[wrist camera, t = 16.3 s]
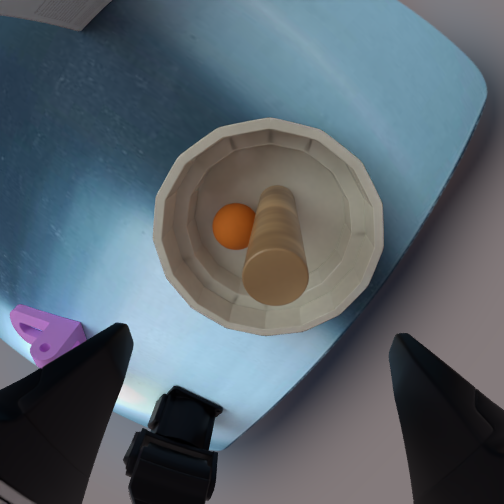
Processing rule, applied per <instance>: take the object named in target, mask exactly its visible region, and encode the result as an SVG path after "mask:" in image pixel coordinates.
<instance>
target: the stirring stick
mask: <svg viewBox="0 0 504 504" xmlns="http://www.w3.org/2000/svg"><path fill="white" fill-rule="evenodd" d="M308 282H309V272H308V266H307V261H306V255H305V250H304V244H303V239H302V234H301V228H300V223H299V218H298V213H297V208H296V203H295V199H294V196H293V194H292V192H291V191H290V190H289V189H287V188H286V187H284V186H280V185H274V186H270V187H268V188H266V189H265V190H264V191H263V192H262V193H261V195H260V198H259V202H258V206H257V210H256V215H255V219H254V223H253V227H252V232H251V236H250V240H249V245H248V249H247V253H246V257H245V262H244V266H243V270H242V283H243V286H244V288H245V290H246V291H247V293H248V294H249V295H250V296H251V297H252V298H253V299H254V300H256V301H258V302H260V303H262V304H265V305H269V306H282V305H286V304H289V303H292V302H293V301H295V300H297V299H298V298H299V297H300V296H301V295H302V294H303V293H304V291H305V290H306V288H307V285H308Z"/></svg>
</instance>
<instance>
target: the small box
mask: <svg viewBox="0 0 504 504" xmlns="http://www.w3.org/2000/svg"><path fill="white" fill-rule="evenodd" d="M111 1H112V0H0V15H3V16H10V17H17V18H23V19H28V20H34V21H38V22H43V23H48V24H52V25H56V26H60V27H64V28H68V29H72V30H75V31H81V30H83V28H84V27H85V26H86V25H87V24H88V23H89V22H90V21H91V20H92V19H93V18H94V17H95V16H96V15H97V14H98V13H99V12H100V11H101V10H102V9H103V8H104V7H105V6H106V5H108V4H109V3H110V2H111Z"/></svg>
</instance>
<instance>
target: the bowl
mask: <svg viewBox="0 0 504 504" xmlns="http://www.w3.org/2000/svg"><path fill="white" fill-rule="evenodd" d="M274 185H280V186H284V187H286V188H287V189H289V190H290V191H291V192H292V194H293V196H294V199H295V203H296V208H297V213H298V218H299V223H300V228H301V234H302V239H303V244H304V250H305V255H306V261H307V266H308V272H309V282H308V285H307V288H306V290H305V291H304V293H303V294H302V295H301V296H300V297H299V298H298V299H297V300H295V301H293V302H292V303H289V304H286V305H282V306H269V305H265V304H262V303H260V302H258V301H256V300H254V299H253V298H252V297H251V296H250V295H249V294H248V293H247V291H246V290H245V288H244V286H243V283H242V270H243V266H244V262H245V257H246V253H247V249H248V247H247V248H244V249H241V250H231V249H227V248H225V247H223V246H222V245H221V244H220V243H219V242H218V241H217V240H216V238H215V236H214V234H213V228H212V225H213V219H214V217H215V215H216V213H217V212H218V211H219V210H220V209H221V208H222V207H224V206H225V205H228V204H231V203H241V204H244V205H247V206H248V207H250V208H251V209H252V210H253V211H254V212H255V213H256V210H257V206H258V202H259V198H260V195H261V193H262V192H263V191H264V190H265V189H266V188H268V187H270V186H274ZM153 241H154V244H155V247H156V250H157V253H158V256H159V259H160V262H161V265H162V268H163V271H164V274H165V276H166V278H167V280H168V281H169V282H170V283H171V284H172V286H173V287H174V288H175V289H176V290H177V292H178V293H179V294H180V295H181V296H182V298H183V299H184V300H185V301H186V302H187V303H188V305H189V306H190V307H191V308H192V309H194V310H196V311H197V312H199V313H201V314H203V315H204V316H206V317H208V318H209V319H211V320H213V321H214V322H216V323H218V324H220V325H221V326H223V327H225V328H228V329H233V330H237V331H242V332H247V333H251V334H256V335H261V336H271V335H280V334H289V333H298V332H303V331H306V330H308V329H311V328H313V327H315V326H317V325H319V324H321V323H324V322H326V321H328V320H330V319H332V318H334V317H336V316H338V315H339V314H341V313H342V312H343V311H344V310H345V309H346V308H347V307H348V306H349V305H350V304H351V303H352V302H353V301H354V300H355V299H356V298H357V297H358V296H359V295H360V294H361V293H362V292H363V291H364V290H365V289H366V288H367V286H368V285H369V282H370V280H371V278H372V275H373V273H374V271H375V268H376V266H377V263H378V261H379V259H380V256H381V254H382V251H383V247H384V227H383V205H382V201H381V199H380V197H379V195H378V193H377V191H376V189H375V187H374V185H373V183H372V180H371V178H370V177H369V175H368V173H367V171H366V169H365V167H364V165H363V163H362V162H361V161H360V160H359V159H358V158H357V157H356V156H354V155H353V154H352V153H351V152H350V151H348V150H347V149H346V148H345V147H343V146H342V145H341V144H340V143H338V142H337V141H336V140H334V139H333V138H332V137H331V136H329V135H328V134H327V133H325V132H324V131H322V130H321V129H317V128H313V127H309V126H305V125H302V124H297V123H293V122H289V121H285V120H280V119H276V118H269V117H268V118H263V119H257V120H251V121H246V122H241V123H236V124H231V125H227V126H222V127H219V128H217V129H215V130H214V131H212V132H211V133H209V134H208V135H207V136H205V137H204V138H202V139H201V140H200V141H198V142H197V143H195V144H194V145H193V146H191V147H190V148H189V149H187V150H186V151H185V152H183V153H182V154H181V155H179V157H178V158H177V159H176V161H175V163H174V164H173V166H172V168H171V170H170V172H169V173H168V175H167V177H166V179H165V181H164V182H163V184H162V186H161V188H160V190H159V192H158V194H157V196H156V201H155V212H154V226H153Z"/></svg>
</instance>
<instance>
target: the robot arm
mask: <svg viewBox="0 0 504 504" xmlns="http://www.w3.org/2000/svg"><path fill="white" fill-rule="evenodd" d="M132 350H133V339H132V336H131V333H130V330H129V327H128V326H127V324H123V323H115V324H113V325H111V326H110V327H108V328H106V329H105V330H103V331H101V332H100V333H98V334H96V335H95V336H93V337H91V338H90V339H88V340H86V341H85V342H83V343H81V344H80V345H78V346H76V347H75V348H73V349H71V350H70V351H68V352H66V353H65V354H63V355H61V356H60V357H58V358H56V359H55V360H53V361H51V362H50V363H48V364H46V365H45V366H43V367H42V368H40V369H38V370H37V371H35V372H33V373H32V374H30V375H28V376H27V377H25V378H23V379H21V380H19V381H17V382H15V383H13V384H11V385H9V386H7V387H5V388H3V389H1V390H0V504H82V501H83V498H84V494H85V491H86V488H87V484H88V481H89V477H90V474H91V471H92V468H93V464H94V462H95V459H96V456H97V453H98V449H99V447H100V444H101V441H102V438H103V435H104V432H105V430H106V427H107V424H108V422H109V419H110V416H111V413H112V411H113V408H114V406H115V403H116V400H117V398H118V395H119V393H120V390H121V387H122V385H123V382H124V379H125V375H126V371H127V368H128V364H129V361H130V357H131V354H132ZM389 362H390V369H391V376H392V383H393V391H394V397H395V402H396V406H397V411H398V415H399V419H400V424H401V429H402V434H403V439H404V443H405V449H406V454H407V460H408V466H409V472H410V479H411V486H412V493H413V500H414V504H504V410H503V409H502V408H500V407H499V406H498V405H496V404H495V403H493V402H492V401H491V400H490V399H489V398H487V397H486V396H485V395H484V394H482V393H481V392H480V391H479V390H478V389H475V387H474V386H473V385H471V384H470V383H469V382H468V381H466V380H465V379H464V378H463V377H462V376H460V375H459V374H458V373H457V372H456V371H454V370H453V369H452V368H451V367H450V366H448V365H447V364H446V363H445V362H443V361H442V360H441V359H440V358H438V357H437V356H436V355H435V354H433V353H432V352H431V351H430V350H428V349H427V348H426V347H424V346H423V345H422V344H421V343H419V342H418V341H417V340H416V339H414V338H413V337H412V336H411V335H409V334H408V333H399V334H396V335H395V337H394V340H393V343H392V346H391V348H390V351H389ZM222 411H223V408H222V407H220V406H217V405H215V404H213V403H211V402H209V401H206V400H204V399H202V398H200V397H198V396H196V395H194V394H192V393H190V392H188V391H186V390H184V389H182V388H180V387H178V386H174V387H173V388H172V389H171V390H170V391H169V392H168V393H167V394H163V395H162V396H161V397H160V398H159V400H158V401H157V402H156V404H155V407H154V410H153V412H152V415H151V418H150V420H149V423H148V428H150V429H151V432H150V431H147V430H146V429H144V428H142V431H141V432H136V433H135V435H134V438H133V440H132V443H131V445H130V447H129V449H128V450H127V452H126V454H125V456H124V459H123V461H124V463H125V465H126V469H127V471H126V475H127V476H129V477H131V480H130V483H129V487H128V489H129V495H130V499H131V502H132V504H205V501H206V500H207V501H208V500H209V499H210V498H211V496H212V493H213V491H214V487H215V483H216V473H217V459H218V452H214V451H213V452H211V451H209V446H210V441H211V436H212V431H213V426H214V422H215V417H217V416H218V415H219V414H221V413H222Z"/></svg>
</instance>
